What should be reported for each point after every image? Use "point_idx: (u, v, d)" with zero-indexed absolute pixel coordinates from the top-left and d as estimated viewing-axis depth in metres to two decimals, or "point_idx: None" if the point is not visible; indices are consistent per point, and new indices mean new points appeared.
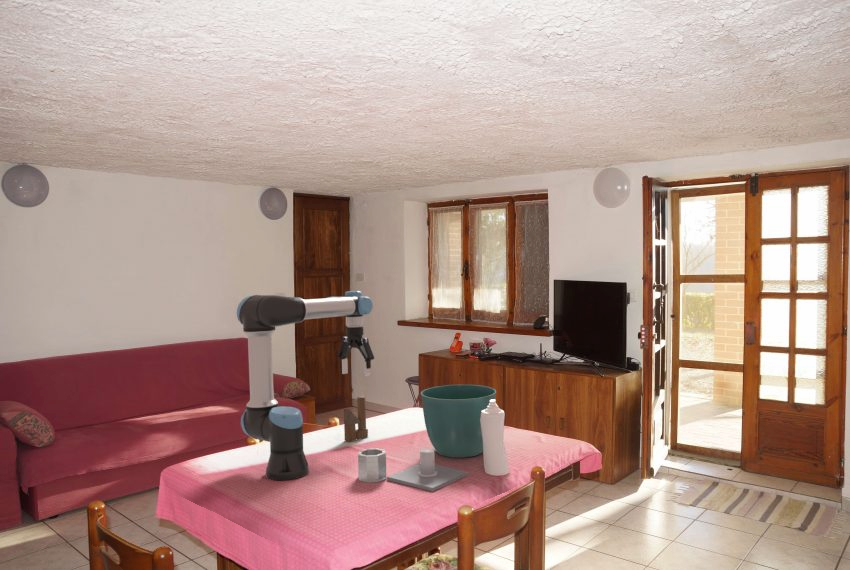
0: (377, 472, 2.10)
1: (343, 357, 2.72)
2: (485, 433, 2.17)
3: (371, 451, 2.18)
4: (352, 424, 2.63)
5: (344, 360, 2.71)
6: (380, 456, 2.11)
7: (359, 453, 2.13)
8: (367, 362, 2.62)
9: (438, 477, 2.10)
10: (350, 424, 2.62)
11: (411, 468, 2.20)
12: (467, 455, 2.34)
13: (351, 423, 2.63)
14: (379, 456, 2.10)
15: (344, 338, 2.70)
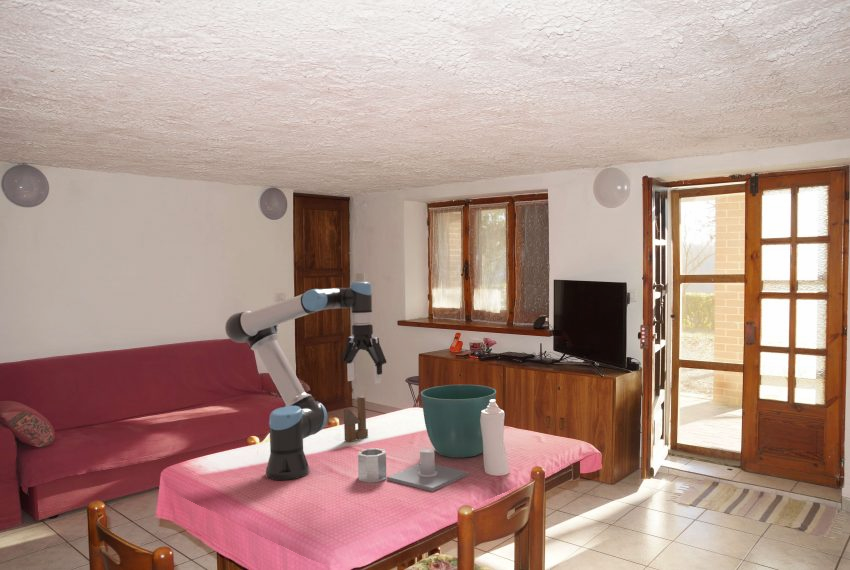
0: (377, 472, 2.10)
1: (349, 361, 2.28)
2: (485, 433, 2.17)
3: (371, 451, 2.18)
4: (352, 424, 2.63)
5: (350, 364, 2.28)
6: (380, 456, 2.11)
7: (359, 453, 2.13)
8: (378, 367, 2.19)
9: (438, 477, 2.10)
10: (350, 424, 2.62)
11: (411, 468, 2.20)
12: (467, 455, 2.34)
13: (351, 423, 2.63)
14: (379, 456, 2.10)
15: (350, 338, 2.27)
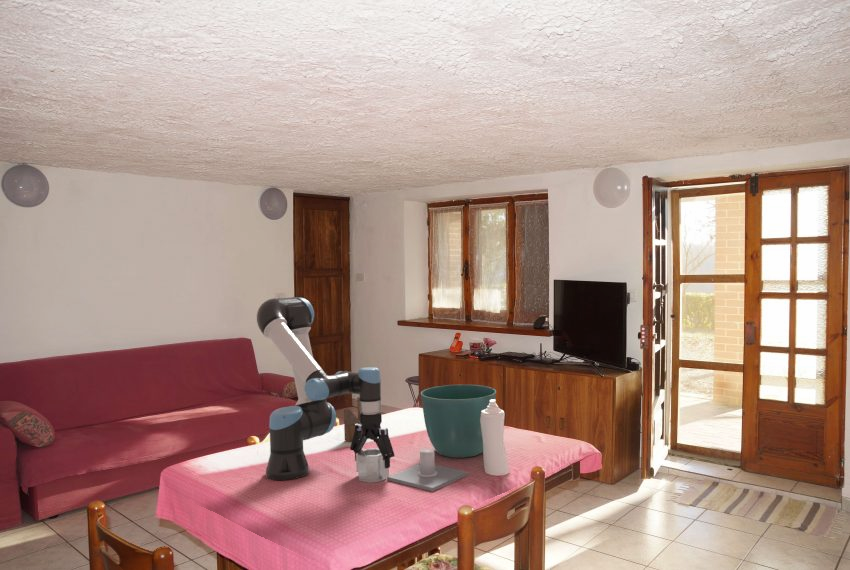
0: (377, 472, 2.10)
1: (357, 450, 2.18)
2: (485, 433, 2.17)
3: (371, 451, 2.18)
4: (352, 424, 2.63)
5: None
6: (380, 456, 2.11)
7: (359, 453, 2.13)
8: (386, 460, 2.09)
9: (438, 477, 2.10)
10: (350, 424, 2.62)
11: (411, 468, 2.20)
12: (467, 455, 2.34)
13: (351, 423, 2.63)
14: (379, 456, 2.10)
15: (357, 426, 2.17)
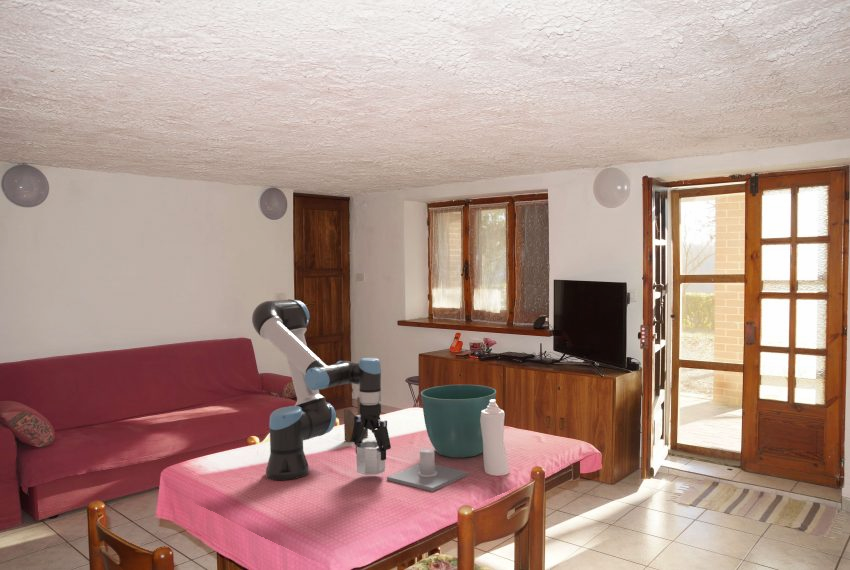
0: (375, 464, 2.10)
1: None
2: (485, 433, 2.17)
3: (370, 443, 2.18)
4: (352, 424, 2.63)
5: None
6: (379, 449, 2.11)
7: (358, 445, 2.13)
8: (382, 452, 2.10)
9: (438, 477, 2.10)
10: (350, 424, 2.62)
11: (411, 468, 2.20)
12: (467, 455, 2.34)
13: (351, 423, 2.63)
14: (378, 449, 2.11)
15: (357, 417, 2.17)
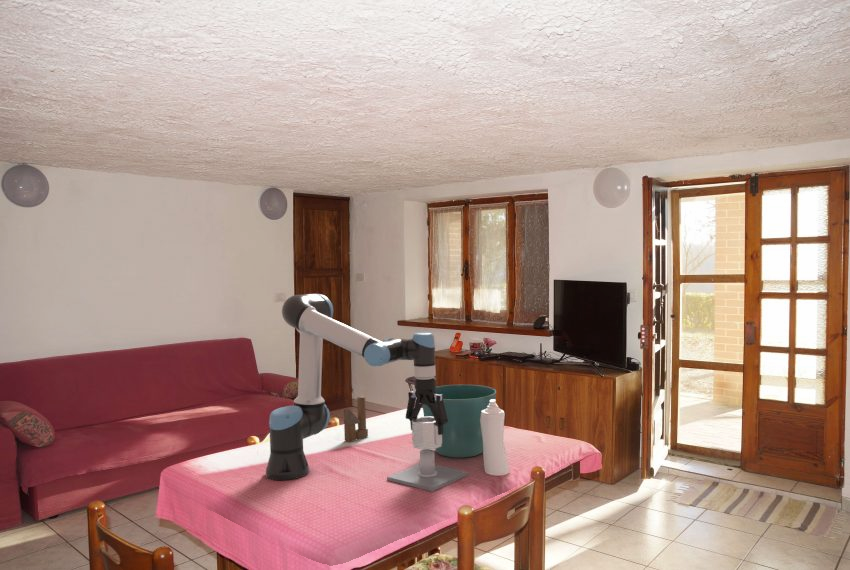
0: (433, 439, 2.08)
1: None
2: (485, 433, 2.17)
3: (425, 419, 2.16)
4: (352, 424, 2.63)
5: None
6: (436, 423, 2.09)
7: (414, 420, 2.12)
8: (439, 427, 2.08)
9: (438, 477, 2.10)
10: (350, 424, 2.62)
11: (411, 468, 2.20)
12: (467, 455, 2.34)
13: (351, 423, 2.63)
14: (435, 423, 2.09)
15: (411, 393, 2.16)
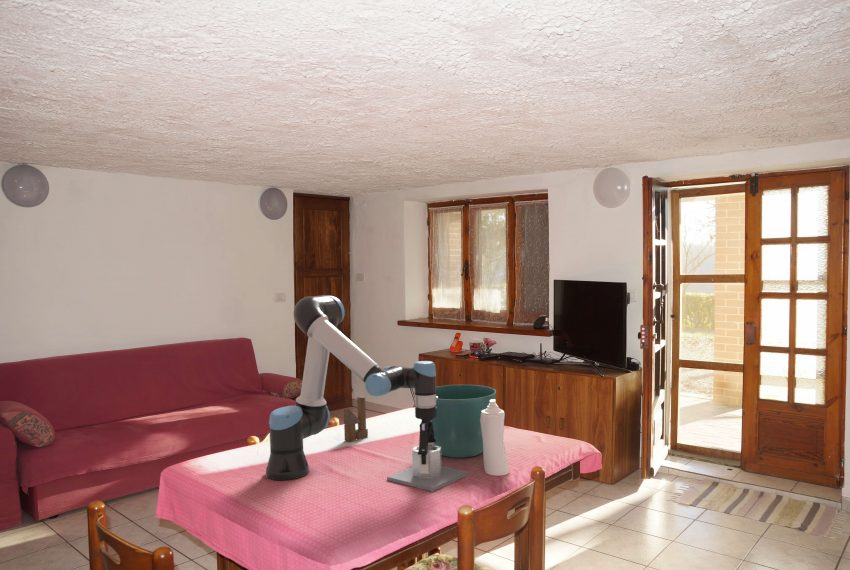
0: (418, 468, 2.09)
1: (428, 440, 2.20)
2: (485, 433, 2.17)
3: (434, 448, 2.15)
4: (352, 424, 2.63)
5: (428, 444, 2.19)
6: None
7: (418, 446, 2.16)
8: None
9: (438, 477, 2.10)
10: (350, 424, 2.62)
11: (411, 468, 2.20)
12: (467, 455, 2.34)
13: (351, 423, 2.63)
14: None
15: None
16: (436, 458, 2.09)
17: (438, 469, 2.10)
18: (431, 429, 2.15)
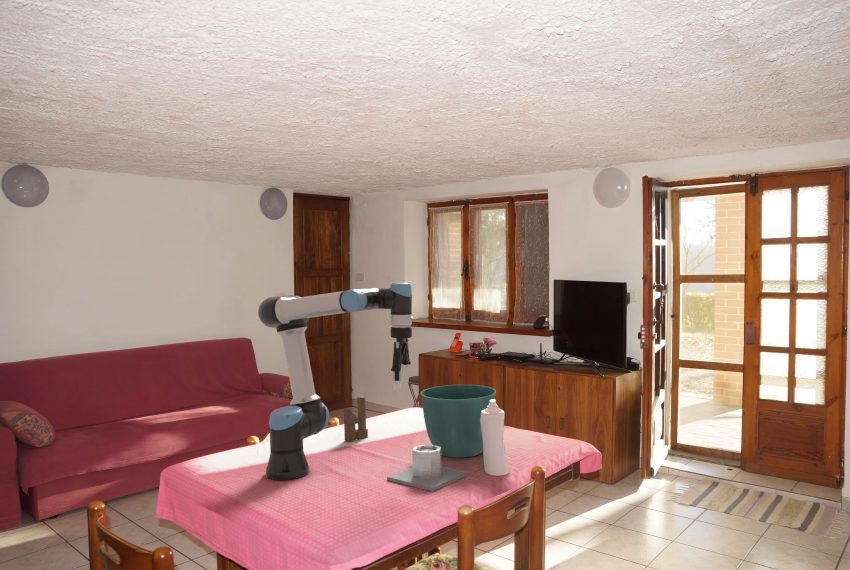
0: (418, 468, 2.09)
1: (403, 362, 2.24)
2: (485, 433, 2.17)
3: (434, 448, 2.15)
4: (352, 424, 2.63)
5: (403, 366, 2.23)
6: (422, 453, 2.08)
7: (418, 446, 2.16)
8: (394, 372, 2.09)
9: (438, 477, 2.10)
10: (350, 424, 2.62)
11: (411, 468, 2.20)
12: (467, 455, 2.34)
13: (351, 423, 2.63)
14: (421, 453, 2.08)
15: None
16: (436, 458, 2.09)
17: (438, 469, 2.10)
18: (406, 350, 2.19)
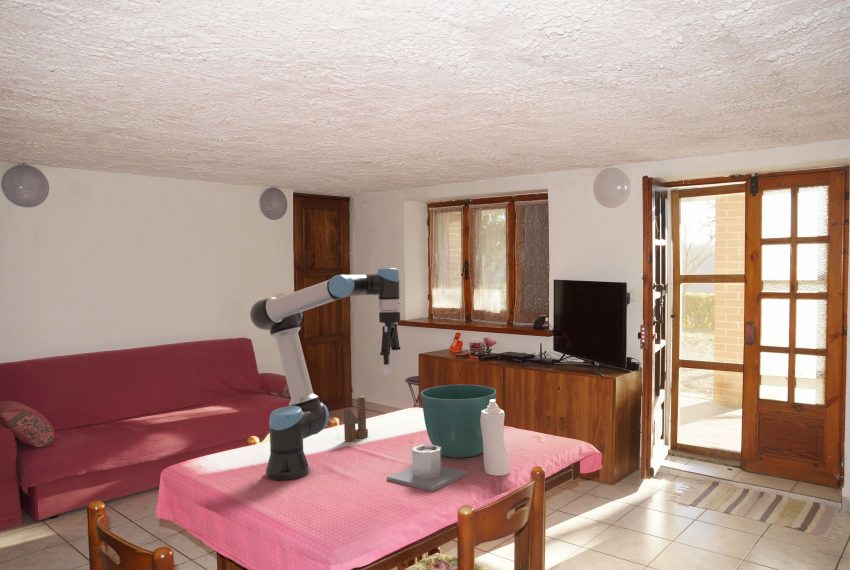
0: (418, 468, 2.09)
1: (393, 348, 2.25)
2: (485, 433, 2.17)
3: (434, 448, 2.15)
4: (352, 424, 2.63)
5: (393, 351, 2.25)
6: (422, 453, 2.08)
7: (418, 446, 2.16)
8: (384, 356, 2.11)
9: (438, 477, 2.10)
10: (350, 424, 2.62)
11: (411, 468, 2.20)
12: (467, 455, 2.34)
13: (351, 423, 2.63)
14: (421, 453, 2.08)
15: None
16: (436, 458, 2.09)
17: (438, 469, 2.10)
18: (395, 335, 2.20)
